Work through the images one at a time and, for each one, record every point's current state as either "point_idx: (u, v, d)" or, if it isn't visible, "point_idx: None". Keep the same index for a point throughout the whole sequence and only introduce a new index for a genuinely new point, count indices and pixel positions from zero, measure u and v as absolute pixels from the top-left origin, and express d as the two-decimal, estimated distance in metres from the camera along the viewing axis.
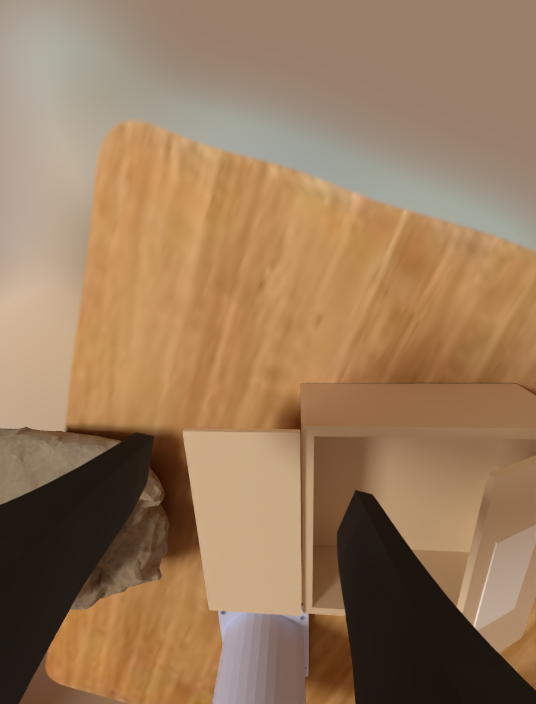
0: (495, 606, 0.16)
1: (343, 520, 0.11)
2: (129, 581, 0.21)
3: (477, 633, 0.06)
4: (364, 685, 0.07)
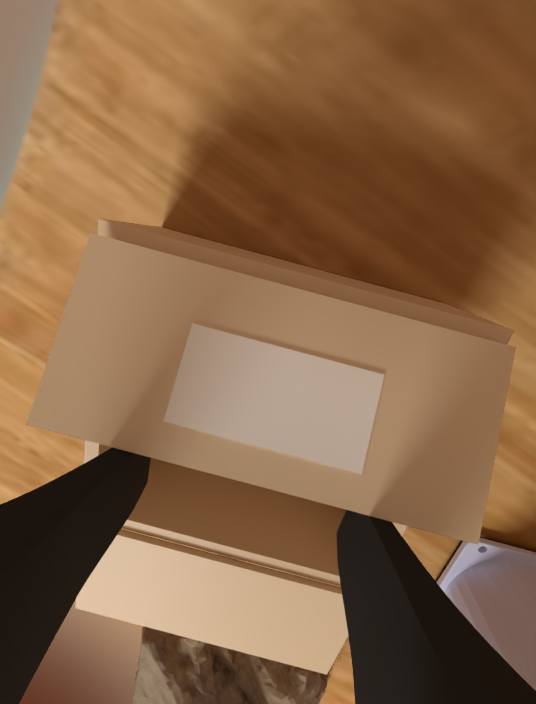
0: (337, 420, 0.09)
1: (343, 520, 0.11)
2: None
3: (477, 633, 0.06)
4: (364, 685, 0.07)
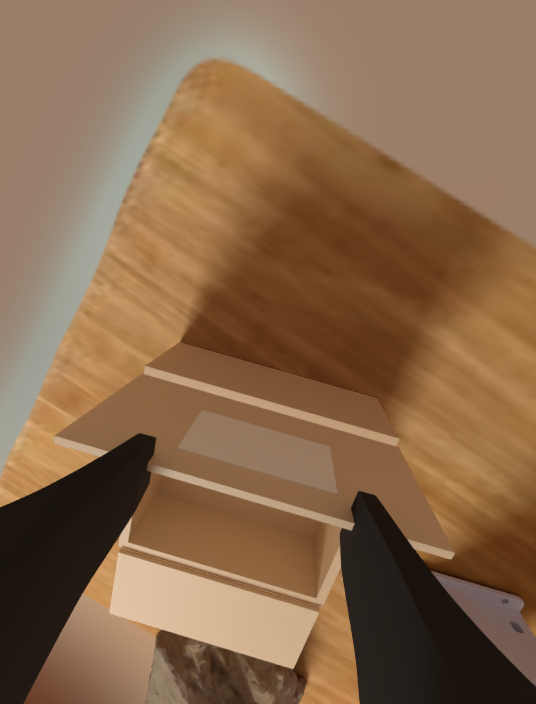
0: (308, 464, 0.12)
1: None
2: (264, 699, 0.25)
3: (482, 634, 0.06)
4: (368, 686, 0.07)
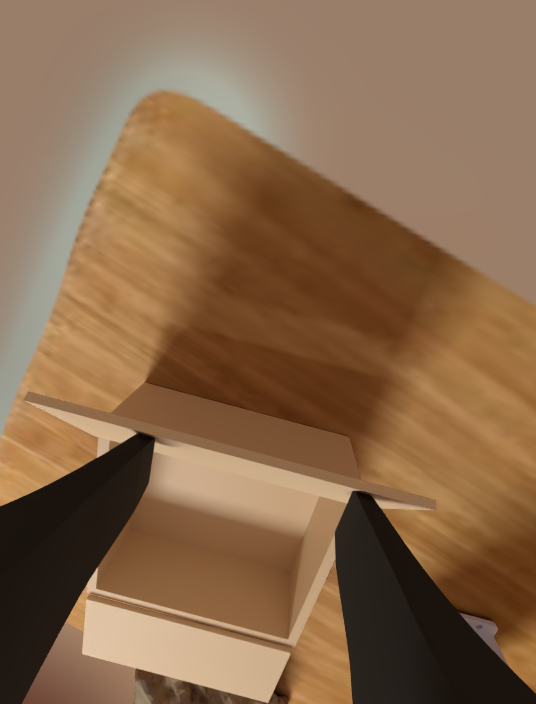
0: None
1: (341, 519, 0.11)
2: None
3: (473, 632, 0.06)
4: (361, 684, 0.07)
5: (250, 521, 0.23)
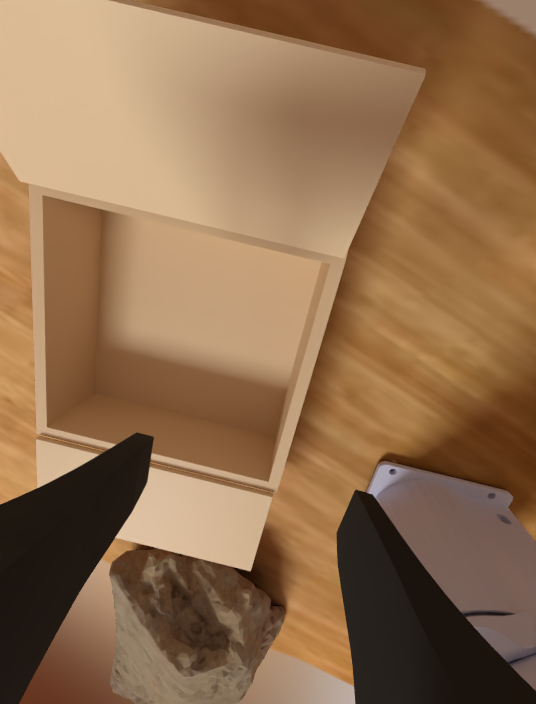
0: None
1: (343, 520, 0.11)
2: (229, 619, 0.22)
3: (477, 633, 0.06)
4: (364, 685, 0.07)
5: (227, 371, 0.20)
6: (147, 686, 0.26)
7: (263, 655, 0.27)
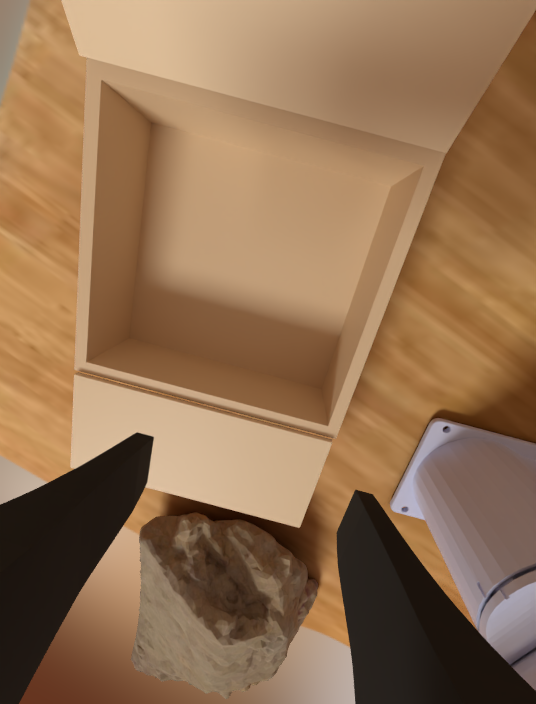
0: None
1: (343, 520, 0.11)
2: (269, 585, 0.21)
3: (477, 633, 0.06)
4: (364, 685, 0.07)
5: (276, 314, 0.19)
6: (175, 660, 0.24)
7: (296, 629, 0.25)
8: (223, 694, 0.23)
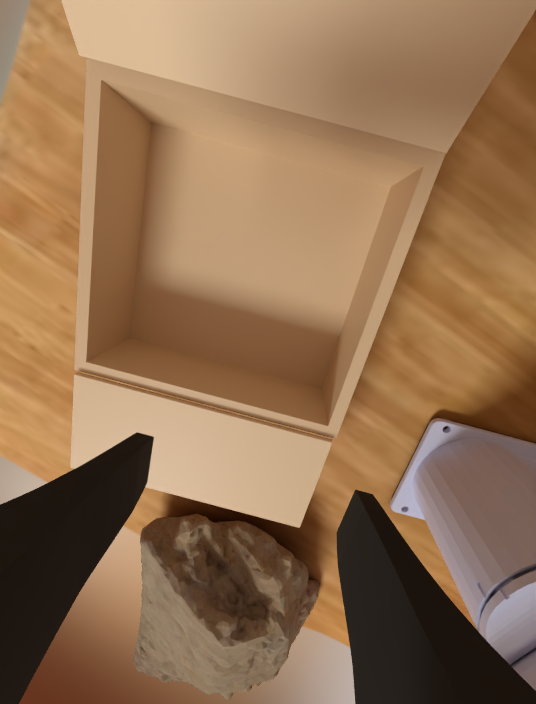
0: None
1: (343, 520, 0.11)
2: (269, 587, 0.21)
3: (477, 633, 0.06)
4: (364, 685, 0.07)
5: (276, 314, 0.19)
6: (177, 661, 0.24)
7: (298, 630, 0.25)
8: (225, 695, 0.23)
